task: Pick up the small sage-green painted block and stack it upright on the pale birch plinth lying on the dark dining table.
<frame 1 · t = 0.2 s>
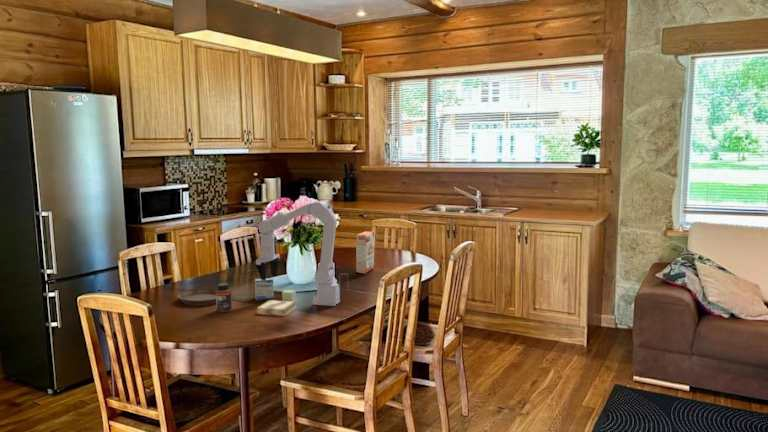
hand: (268, 277, 254), 10 cm above the table, tool pointing down, fingers open, 7 cm apart
cracker box: (365, 272, 311), on the table
plant saucer: (202, 301, 255), on the table
plinth: (277, 310, 239), on the table
supplement bottle: (224, 311, 239), on the table
block: (289, 303, 250), on the table
medicine box: (264, 298, 258), on the table
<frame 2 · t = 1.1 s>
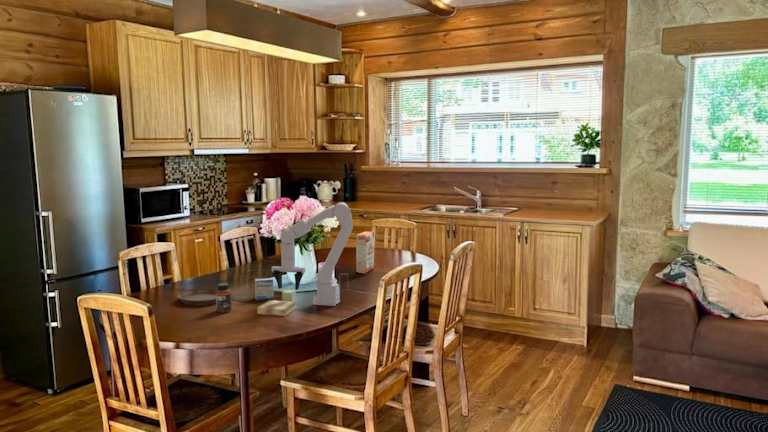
hand: (288, 288, 249), 7 cm above the table, tool pointing down, fingers open, 7 cm apart
nothing on the table moved.
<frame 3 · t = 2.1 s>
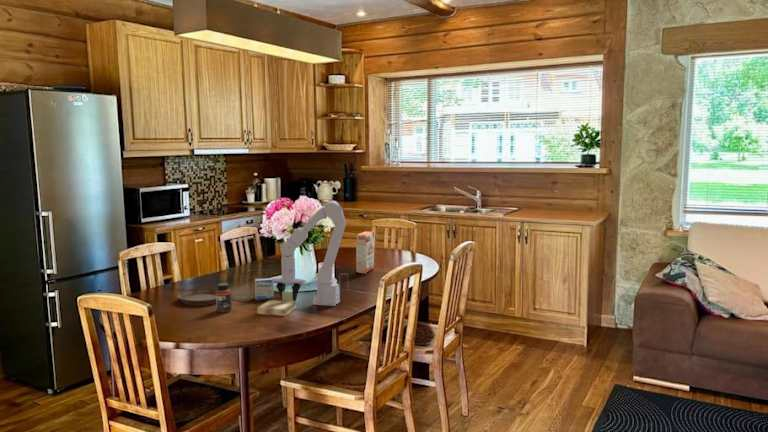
hand: (289, 300, 249), 1 cm above the table, tool pointing down, fingers closed on block, 4 cm apart
block: (289, 303, 250), on the table, touching gripper
everything else where it was.
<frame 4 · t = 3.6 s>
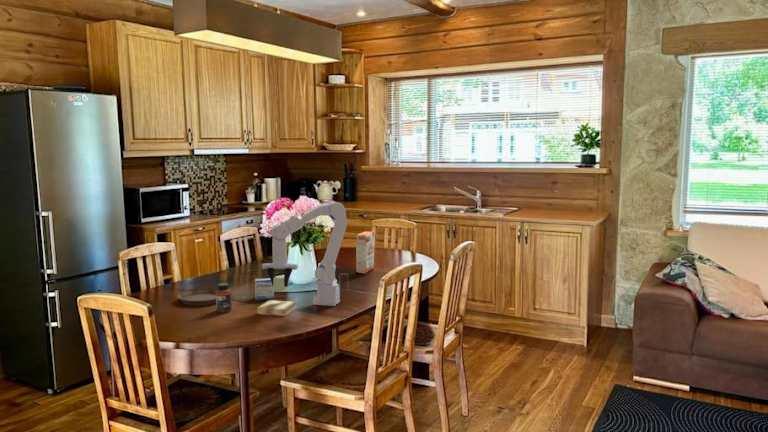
hand: (280, 286, 241), 9 cm above the table, tool pointing down, fingers closed on block, 4 cm apart
block: (280, 290, 242), point 8 cm above the table, touching gripper
everything else where it was.
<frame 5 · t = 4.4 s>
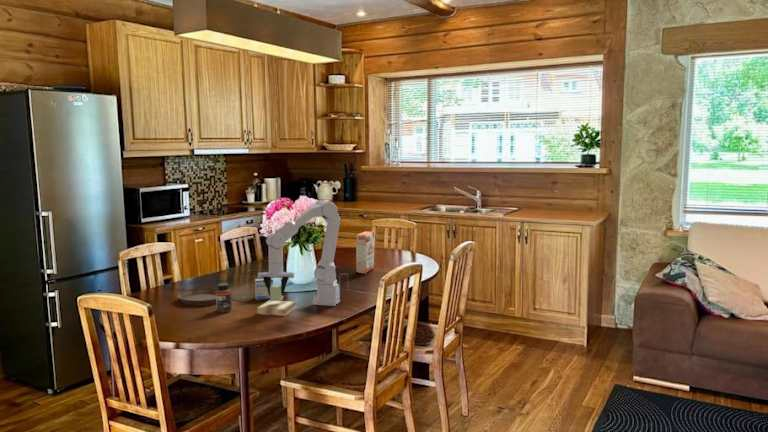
hand: (276, 295, 238), 7 cm above the table, tool pointing down, fingers closed on block, 4 cm apart
block: (276, 299, 239), point 5 cm above the table, touching gripper
everything else where it was.
when the fingers open (5 cm above the table, at t = 5.2 s): block stays where it is, resting on plinth.
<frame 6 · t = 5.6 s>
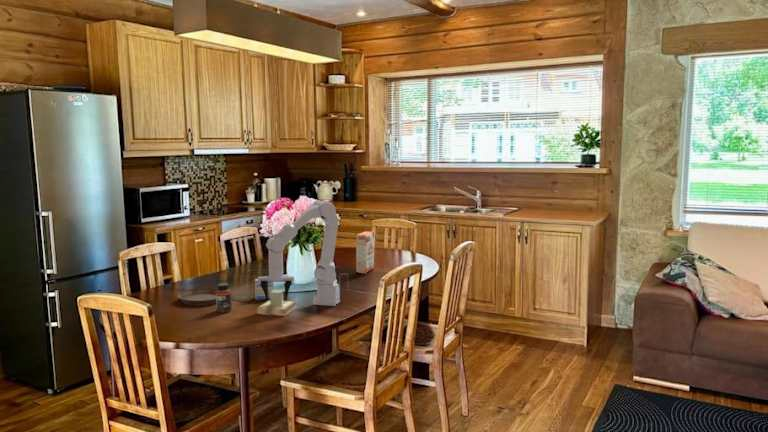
hand: (276, 299, 238), 5 cm above the table, tool pointing down, fingers open, 7 cm apart
block: (276, 304, 239), point 3 cm above the table, touching plinth
everything else where it was.
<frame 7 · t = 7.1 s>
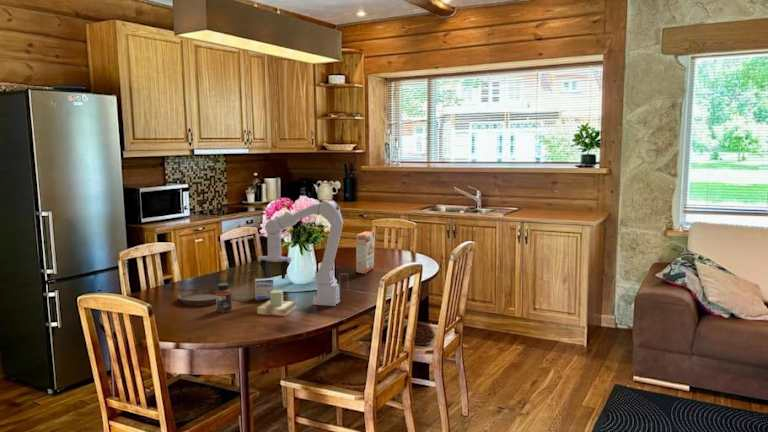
hand: (275, 278, 252), 10 cm above the table, tool pointing down, fingers open, 7 cm apart
nothing on the table moved.
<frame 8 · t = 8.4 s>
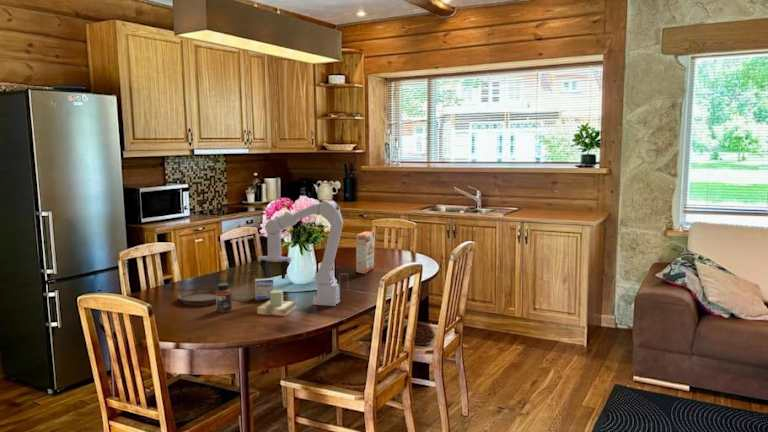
hand: (275, 278, 252), 10 cm above the table, tool pointing down, fingers open, 7 cm apart
nothing on the table moved.
at the end: block inside the target area on the plinth (0.3 cm from its centre), point 2.5 cm above the plinth's base; block tilted 0°; block touching plinth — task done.
